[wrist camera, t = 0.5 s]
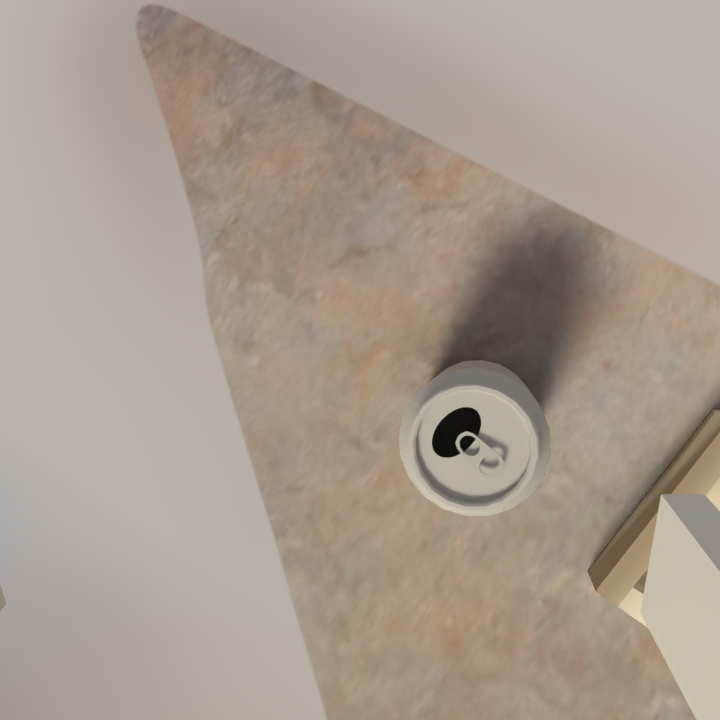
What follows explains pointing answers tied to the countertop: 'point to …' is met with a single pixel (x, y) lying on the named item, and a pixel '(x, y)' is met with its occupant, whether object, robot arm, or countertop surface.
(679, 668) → the robot arm
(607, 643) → the countertop surface
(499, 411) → the can
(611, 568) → the can rest
